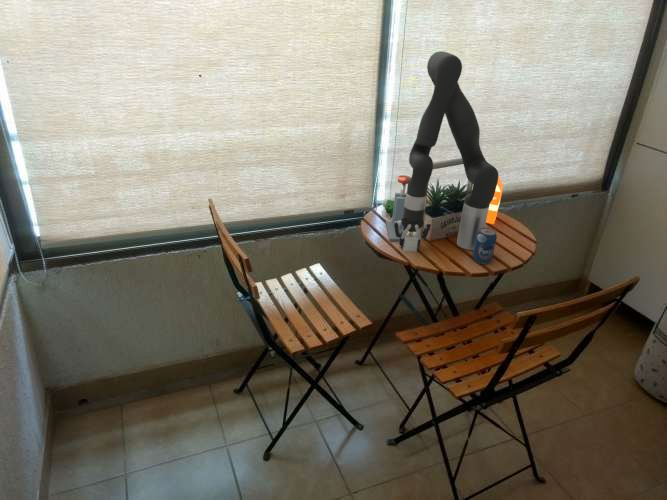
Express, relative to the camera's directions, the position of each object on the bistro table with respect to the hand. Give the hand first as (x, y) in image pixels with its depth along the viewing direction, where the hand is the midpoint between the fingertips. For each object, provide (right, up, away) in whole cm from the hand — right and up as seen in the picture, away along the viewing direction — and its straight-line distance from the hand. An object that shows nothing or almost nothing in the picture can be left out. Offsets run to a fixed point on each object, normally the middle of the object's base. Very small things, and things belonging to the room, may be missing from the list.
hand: (409, 246), depth 192 cm
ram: (-2, +15, +12) cm, 20 cm away
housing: (0, -1, 0) cm, 1 cm away
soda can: (+26, -5, -5) cm, 27 cm away
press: (-2, +6, +12) cm, 13 cm away
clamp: (-1, +13, +26) cm, 29 cm away
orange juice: (+38, +12, +29) cm, 49 cm away
